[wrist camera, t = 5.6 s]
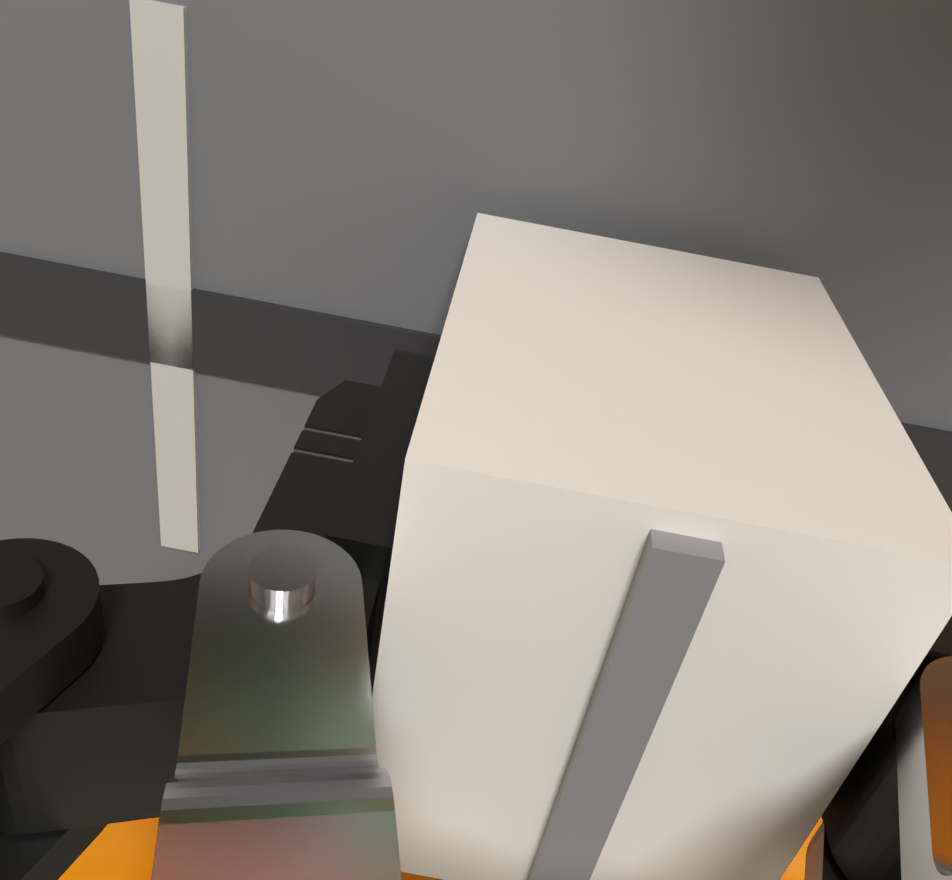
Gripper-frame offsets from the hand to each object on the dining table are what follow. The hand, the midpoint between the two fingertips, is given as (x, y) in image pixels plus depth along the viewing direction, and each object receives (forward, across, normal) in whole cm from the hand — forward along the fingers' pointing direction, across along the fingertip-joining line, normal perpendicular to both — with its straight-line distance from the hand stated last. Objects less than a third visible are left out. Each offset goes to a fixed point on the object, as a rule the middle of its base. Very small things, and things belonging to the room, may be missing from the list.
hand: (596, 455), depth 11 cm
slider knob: (+1, 0, 0) cm, 1 cm away
